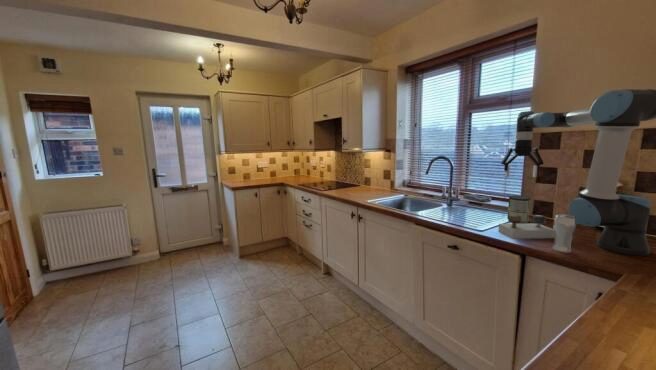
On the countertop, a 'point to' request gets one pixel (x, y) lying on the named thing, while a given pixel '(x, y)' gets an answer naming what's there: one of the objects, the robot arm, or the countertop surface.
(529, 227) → the knob mount
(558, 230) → the beer glass
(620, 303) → the countertop surface
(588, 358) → the countertop surface
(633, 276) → the countertop surface
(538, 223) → the knob black
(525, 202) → the coffee can
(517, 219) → the knob walnut
